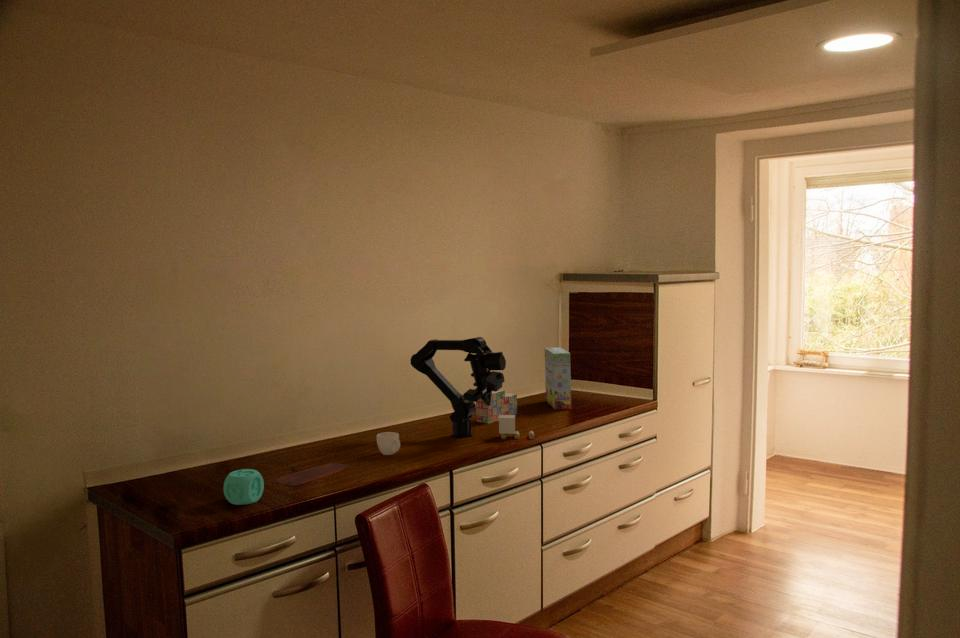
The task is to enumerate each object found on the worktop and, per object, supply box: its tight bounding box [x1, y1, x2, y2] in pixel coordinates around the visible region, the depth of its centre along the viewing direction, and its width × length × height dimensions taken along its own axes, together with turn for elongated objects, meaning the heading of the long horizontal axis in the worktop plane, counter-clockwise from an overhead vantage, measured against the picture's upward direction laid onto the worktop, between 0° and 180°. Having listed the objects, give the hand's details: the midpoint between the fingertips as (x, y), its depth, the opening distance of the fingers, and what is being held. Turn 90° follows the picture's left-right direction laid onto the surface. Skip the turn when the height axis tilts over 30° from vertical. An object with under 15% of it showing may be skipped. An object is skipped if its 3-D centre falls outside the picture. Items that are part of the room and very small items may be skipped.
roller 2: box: [528, 430, 535, 440], centre depth 282 cm, size 6×2×2 cm
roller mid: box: [513, 430, 520, 440], centre depth 282 cm, size 6×2×2 cm, turn 177°
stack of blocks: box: [475, 389, 518, 424], centre depth 316 cm, size 21×6×12 cm, turn 143°
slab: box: [498, 415, 516, 435], centre depth 282 cm, size 6×5×6 cm
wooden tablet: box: [273, 462, 352, 488], centre depth 236 cm, size 27×10×2 cm, turn 147°
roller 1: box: [500, 434, 507, 440], centre depth 282 cm, size 6×2×2 cm
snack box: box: [543, 346, 572, 411], centre depth 343 cm, size 22×9×26 cm, turn 6°
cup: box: [376, 431, 401, 456], centre depth 259 cm, size 8×10×7 cm
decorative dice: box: [223, 468, 265, 506], centre depth 210 cm, size 8×8×8 cm
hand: (488, 405), depth 287 cm, fingers closed
